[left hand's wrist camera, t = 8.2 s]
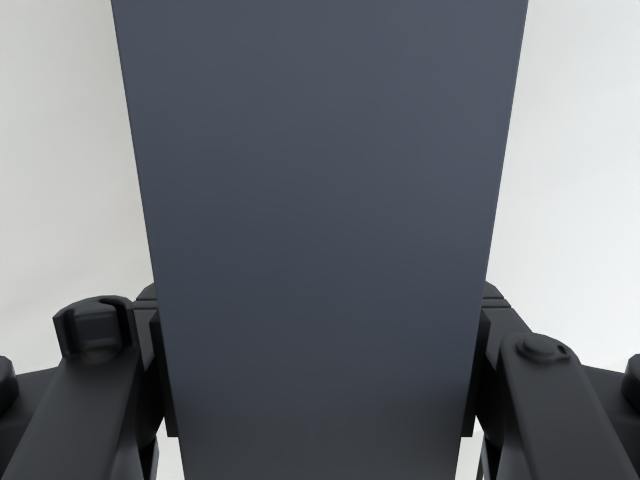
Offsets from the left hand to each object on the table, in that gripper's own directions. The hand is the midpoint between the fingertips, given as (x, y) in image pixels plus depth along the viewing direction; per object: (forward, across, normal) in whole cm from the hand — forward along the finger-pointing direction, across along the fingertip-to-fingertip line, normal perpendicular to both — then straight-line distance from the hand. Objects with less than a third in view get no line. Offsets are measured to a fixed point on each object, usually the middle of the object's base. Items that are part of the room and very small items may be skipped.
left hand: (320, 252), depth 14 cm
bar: (+1, 0, -7) cm, 7 cm away
